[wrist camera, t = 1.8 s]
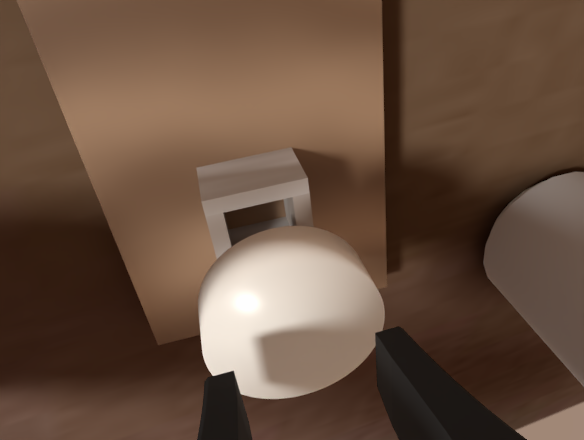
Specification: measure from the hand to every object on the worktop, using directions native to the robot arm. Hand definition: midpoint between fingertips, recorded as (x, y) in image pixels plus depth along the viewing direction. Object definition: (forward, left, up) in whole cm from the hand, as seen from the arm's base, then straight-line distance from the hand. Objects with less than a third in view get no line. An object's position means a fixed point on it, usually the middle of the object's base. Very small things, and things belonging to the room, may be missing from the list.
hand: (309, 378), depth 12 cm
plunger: (0, 0, -6) cm, 6 cm away
